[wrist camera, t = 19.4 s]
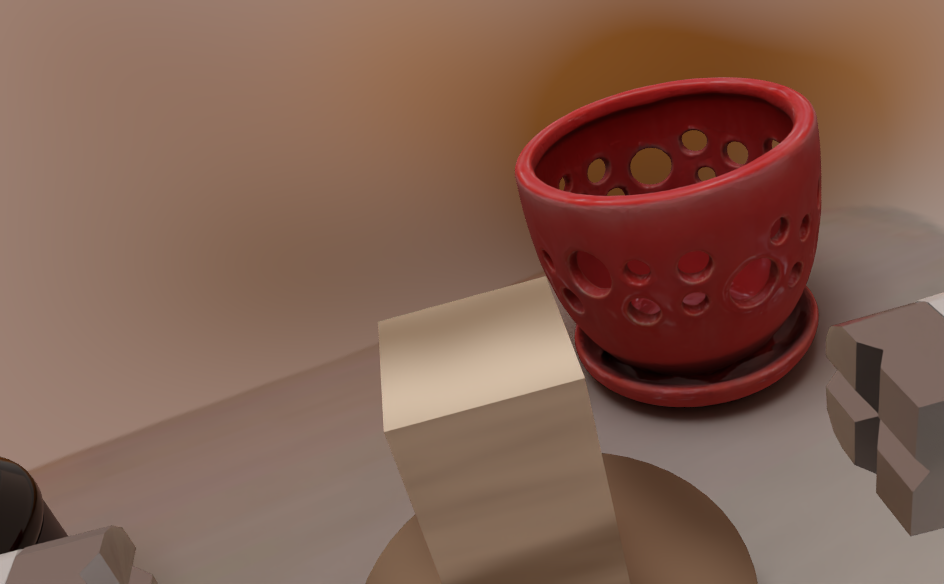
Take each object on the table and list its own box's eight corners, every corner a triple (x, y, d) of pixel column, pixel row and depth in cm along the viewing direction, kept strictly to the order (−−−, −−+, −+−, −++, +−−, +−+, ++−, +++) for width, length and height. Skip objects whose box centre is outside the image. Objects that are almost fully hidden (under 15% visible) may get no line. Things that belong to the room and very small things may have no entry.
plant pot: (833, 272, 48) (826, 55, 41) (819, 445, 38) (808, 194, 32) (595, 274, 53) (557, 82, 47) (528, 425, 43) (469, 207, 37)
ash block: (642, 639, 27) (584, 377, 22) (480, 681, 27) (384, 432, 22) (601, 517, 31) (545, 276, 26) (461, 555, 31) (378, 321, 26)
